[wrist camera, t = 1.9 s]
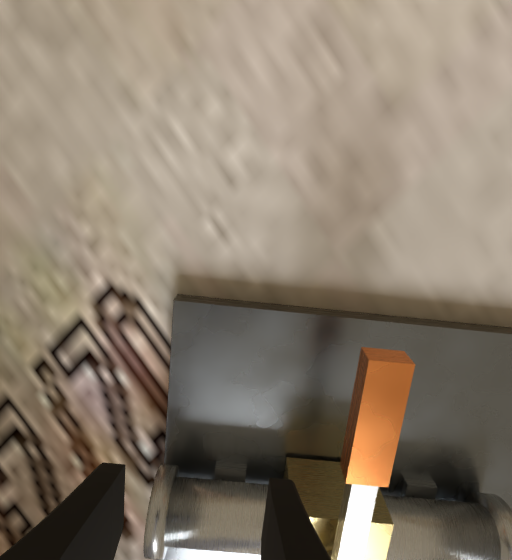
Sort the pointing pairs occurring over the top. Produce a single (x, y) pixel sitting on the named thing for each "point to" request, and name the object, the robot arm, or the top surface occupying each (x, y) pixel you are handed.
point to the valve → (329, 431)
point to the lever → (370, 443)
